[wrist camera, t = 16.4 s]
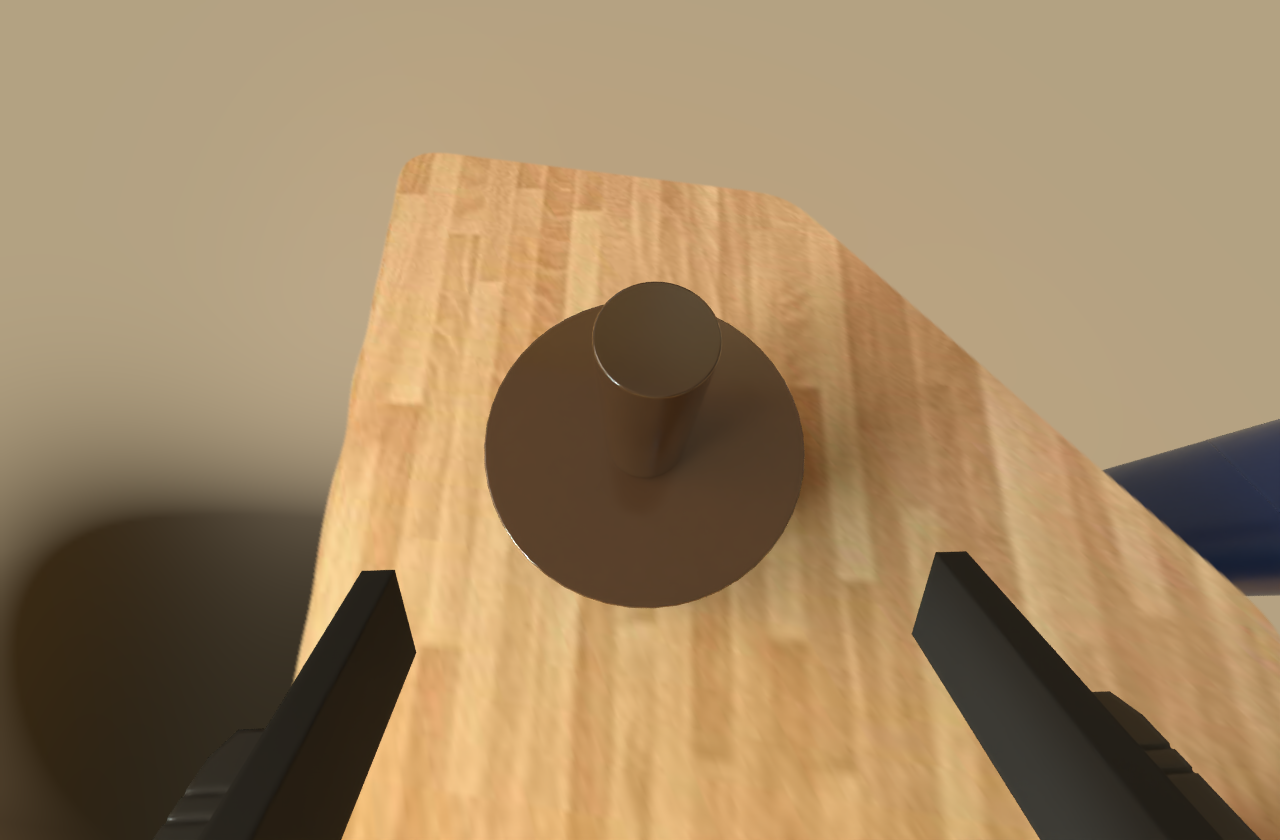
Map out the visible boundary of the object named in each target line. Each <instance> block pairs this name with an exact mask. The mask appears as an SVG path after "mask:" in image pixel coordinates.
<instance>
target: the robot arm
mask: <svg viewBox="0 0 1280 840" xmlns="http://www.w3.org/2000/svg"><path fill="white" fill-rule="evenodd" d="M912 635H913V637H914V638H915V640H916V641H917V643H918V645H919V646H920V648H921V649H922V651H923V653H924V654H925V656H926V657H927V659H928V661H929V662H930V664H931V665H932V667H933V669H934V670H935V672H936V673H937V675H938V677H939V678H940V680H941V681H942V683H943V685H944V686H945V688H946V689H947V691H948V693H949V694H950V696H951V697H952V699H953V701H954V702H955V704H956V705H957V707H958V709H959V710H960V712H961V713H962V715H963V717H964V718H965V720H966V721H967V723H968V725H969V726H970V728H971V729H972V731H973V733H974V734H975V736H976V737H977V739H978V741H979V742H980V744H981V745H982V747H983V749H984V750H985V752H986V753H987V755H988V757H989V758H990V760H991V761H992V763H993V765H994V766H995V768H996V769H997V771H998V773H999V774H1000V776H1001V778H1002V779H1003V781H1004V782H1005V784H1006V786H1007V787H1008V789H1009V790H1010V792H1011V794H1012V795H1013V797H1014V798H1015V800H1016V802H1017V803H1018V805H1019V806H1020V808H1021V810H1022V811H1023V813H1024V814H1025V816H1026V818H1027V819H1028V821H1029V822H1030V824H1031V826H1032V827H1033V829H1034V830H1035V832H1036V834H1037V835H1038V837H1039V838H1040V840H1261V839H1260V838H1259V837H1258V836H1257V835H1256V834H1255V833H1254V832H1253V831H1252V830H1251V829H1250V828H1249V827H1248V826H1247V825H1246V824H1245V823H1244V822H1243V820H1242V819H1241V818H1240V817H1239V816H1238V815H1237V814H1236V813H1235V812H1234V811H1233V810H1232V809H1231V808H1230V807H1229V806H1228V805H1227V804H1226V803H1225V801H1224V800H1223V799H1222V798H1221V797H1220V796H1219V795H1218V794H1217V793H1216V792H1215V791H1214V790H1213V789H1212V788H1211V787H1210V786H1209V785H1208V784H1207V782H1206V781H1205V780H1204V779H1203V778H1202V777H1201V776H1200V775H1199V774H1198V773H1194V772H1193V771H1192V767H1191V766H1190V765H1189V763H1188V762H1187V761H1186V760H1185V759H1184V758H1183V757H1182V756H1181V755H1180V754H1179V753H1178V752H1177V751H1176V750H1175V749H1171V747H1170V745H1169V744H1170V743H1169V742H1168V741H1167V740H1166V739H1165V738H1164V737H1163V736H1162V735H1161V734H1160V733H1159V732H1158V731H1157V730H1156V729H1155V728H1154V727H1153V725H1152V724H1151V723H1150V722H1149V721H1148V720H1147V719H1146V718H1145V717H1144V716H1143V715H1142V714H1140V713H1139V712H1138V711H1136V710H1135V709H1133V708H1132V707H1131V706H1129V705H1128V704H1126V703H1125V702H1124V701H1122V700H1121V699H1120V698H1118V697H1117V696H1115V695H1114V694H1113V693H1111V692H1110V691H1109V692H1091V691H1090V689H1089V688H1088V687H1087V686H1086V685H1085V684H1084V683H1083V682H1082V681H1081V679H1080V678H1079V677H1078V676H1077V675H1076V674H1075V673H1074V672H1073V670H1072V669H1071V668H1070V667H1069V666H1068V665H1067V664H1066V663H1065V661H1064V660H1063V659H1062V658H1061V657H1060V656H1059V655H1058V654H1057V653H1056V651H1055V650H1054V649H1053V648H1052V647H1051V646H1050V645H1049V644H1048V642H1047V641H1046V640H1045V639H1044V638H1043V637H1042V636H1041V635H1040V633H1039V632H1038V631H1037V630H1036V629H1035V628H1034V627H1033V626H1032V625H1031V623H1030V622H1029V621H1028V620H1027V619H1026V618H1025V617H1024V616H1023V614H1022V613H1021V612H1020V611H1019V610H1018V609H1017V608H1016V607H1015V605H1014V604H1013V603H1012V602H1011V601H1010V600H1009V599H1008V598H1007V597H1006V595H1005V594H1004V593H1003V592H1002V591H1001V590H1000V589H999V588H998V586H997V585H996V584H995V583H994V582H993V581H992V580H991V579H990V577H989V576H988V575H987V574H986V573H985V572H984V571H983V570H982V569H981V567H980V566H979V565H978V564H977V563H976V562H975V561H974V560H973V558H972V557H971V556H970V555H969V554H968V553H967V552H966V551H964V552H936V553H935V557H934V560H933V564H932V567H931V570H930V574H929V577H928V581H927V584H926V587H925V591H924V594H923V598H922V601H921V604H920V608H919V611H918V615H917V618H916V621H915V625H914V628H913V632H912ZM415 654H416V650H415V646H414V642H413V638H412V634H411V631H410V627H409V623H408V619H407V615H406V611H405V608H404V604H403V600H402V596H401V592H400V588H399V585H398V581H397V577H396V573H395V570H377V571H362V572H361V573H360V575H359V577H358V578H357V580H356V581H355V583H354V585H353V586H352V588H351V590H350V591H349V593H348V594H347V596H346V598H345V599H344V601H343V603H342V604H341V606H340V608H339V609H338V611H337V612H336V614H335V616H334V617H333V619H332V621H331V622H330V624H329V626H328V627H327V629H326V630H325V632H324V634H323V635H322V637H321V639H320V640H319V642H318V643H317V645H316V647H315V648H314V650H313V652H312V653H311V655H310V657H309V658H308V660H307V661H306V663H305V665H304V666H303V668H302V670H301V671H300V673H299V675H298V676H297V678H296V679H295V681H294V683H293V684H292V686H291V688H290V689H289V691H288V693H287V694H286V696H285V697H284V699H283V701H282V702H281V704H280V706H279V707H278V709H277V710H276V712H275V714H274V715H273V717H272V719H271V720H270V722H269V724H268V725H267V727H266V728H265V729H243V730H237V731H236V732H235V733H234V734H233V735H232V736H231V737H230V738H229V739H228V740H227V741H225V742H224V743H223V744H222V745H221V746H220V747H219V748H218V749H217V750H216V751H215V752H214V753H213V754H212V755H211V756H210V757H208V759H207V760H206V762H205V763H204V765H203V766H202V768H201V769H200V770H199V772H198V774H197V775H196V776H195V778H194V780H193V781H192V782H191V784H190V785H189V787H188V788H187V790H186V794H185V796H184V797H181V798H180V800H179V801H178V803H177V804H176V806H175V807H174V809H173V810H172V812H171V813H170V815H169V816H168V821H167V823H166V824H165V825H162V827H161V828H160V829H159V831H158V832H157V834H156V835H155V837H154V838H153V840H341V839H342V836H343V834H344V831H345V829H346V826H347V824H348V821H349V819H350V816H351V814H352V811H353V809H354V806H355V804H356V801H357V799H358V796H359V794H360V791H361V789H362V786H363V784H364V781H365V779H366V776H367V774H368V771H369V769H370V767H371V764H372V762H373V759H374V757H375V754H376V752H377V749H378V747H379V744H380V742H381V739H382V737H383V734H384V732H385V729H386V727H387V724H388V722H389V719H390V717H391V714H392V712H393V709H394V707H395V704H396V702H397V699H398V697H399V694H400V692H401V689H402V687H403V684H404V682H405V679H406V677H407V674H408V672H409V669H410V667H411V664H412V662H413V659H414V657H415Z"/></svg>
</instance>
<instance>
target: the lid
mask: <svg viewBox="0 0 1280 840" xmlns="http://www.w3.org/2000/svg"><path fill="white" fill-rule="evenodd" d="M484 455H485V471H486V477H487V484H488V488H489V491H490V495H491V498H492V501H493V505H494V507H495V509H496V511H497V514H498V516H499V518H500V520H501V522H502V525H503V526H504V528H505V529H506V531H507V532H508V534H509V536H510V537H511V539H512V540H513V542H514V543H515V544H516V546H517V547H518V548H519V549H520V550H521V551H522V553H523V554H524V555H525V556H526V557H527V558H528V560H529V561H531V562H532V563H533V564H534V565H535V566H536V567H537V568H539V569H540V570H541V571H542V572H543V573H544V574H545V575H547V576H548V577H550V578H551V579H553V580H554V581H556V582H558V583H559V584H561V585H562V586H564V587H565V588H567V589H570V590H572V591H574V592H576V593H578V594H580V595H582V596H584V597H587V598H590V599H593V600H597V601H600V602H603V603H606V604H611V605H617V606H623V607H629V608H660V607H669V606H677V605H680V604H684V603H688V602H692V601H696V600H699V599H702V598H704V597H707V596H709V595H711V594H714V593H716V592H719V591H720V590H722V589H724V588H726V587H727V586H729V585H731V584H732V583H734V582H736V581H738V580H739V579H740V578H741V577H743V576H744V575H745V574H747V573H748V572H749V571H750V570H752V569H753V568H754V567H755V566H756V565H757V564H758V563H759V562H760V561H761V560H762V559H763V558H764V557H765V556H766V555H767V554H768V553H769V552H770V551H771V549H772V548H773V546H774V545H775V544H776V542H777V541H778V539H779V538H780V536H781V535H782V534H783V532H784V530H785V528H786V526H787V524H788V522H789V520H790V518H791V516H792V514H793V512H794V509H795V506H796V503H797V500H798V497H799V494H800V489H801V484H802V479H803V473H804V456H805V453H804V440H803V432H802V427H801V423H800V418H799V414H798V411H797V408H796V406H795V403H794V400H793V397H792V395H791V393H790V391H789V389H788V387H787V385H786V383H785V381H784V379H783V378H782V376H781V375H780V373H779V372H778V370H777V369H776V367H775V366H774V364H773V363H772V362H771V361H770V360H769V358H768V357H767V356H766V355H765V354H764V353H763V351H762V350H761V349H760V348H759V347H758V346H757V345H755V344H754V343H753V342H752V341H751V340H750V339H749V338H748V337H746V336H745V335H744V334H742V333H741V332H740V331H738V330H737V329H735V328H734V327H732V326H731V325H730V324H728V323H726V322H724V321H722V320H720V319H718V318H717V317H716V316H715V314H714V313H713V311H712V310H711V308H710V307H709V306H708V305H707V304H706V302H705V301H703V300H702V299H701V298H700V297H699V296H698V295H696V294H695V293H693V292H692V291H690V290H688V289H686V288H684V287H681V286H679V285H675V284H671V283H665V282H645V283H640V284H636V285H633V286H630V287H628V288H626V289H624V290H622V291H620V292H619V293H617V294H616V295H614V296H613V297H612V298H611V299H610V300H609V301H608V302H607V303H606V304H605V305H601V306H598V307H595V308H591V309H588V310H585V311H582V312H580V313H578V314H576V315H574V316H571V317H569V318H567V319H565V320H564V321H562V322H560V323H559V324H557V325H555V326H554V327H552V328H550V329H549V330H548V331H546V332H545V333H544V334H543V335H541V336H540V337H539V338H538V339H536V340H535V341H534V342H533V343H532V344H531V345H530V346H529V347H528V348H527V349H526V350H525V351H524V352H523V353H522V354H521V355H520V357H519V358H518V359H517V361H516V362H515V363H514V365H513V366H512V367H511V368H510V370H509V371H508V373H507V375H506V377H505V378H504V380H503V382H502V384H501V385H500V387H499V389H498V392H497V394H496V397H495V399H494V402H493V404H492V407H491V411H490V415H489V418H488V422H487V427H486V435H485V443H484Z"/></svg>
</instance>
